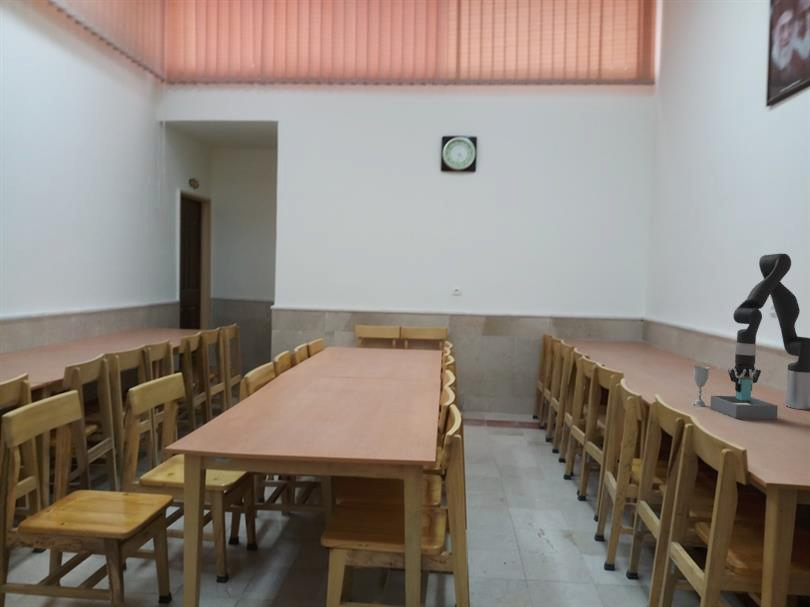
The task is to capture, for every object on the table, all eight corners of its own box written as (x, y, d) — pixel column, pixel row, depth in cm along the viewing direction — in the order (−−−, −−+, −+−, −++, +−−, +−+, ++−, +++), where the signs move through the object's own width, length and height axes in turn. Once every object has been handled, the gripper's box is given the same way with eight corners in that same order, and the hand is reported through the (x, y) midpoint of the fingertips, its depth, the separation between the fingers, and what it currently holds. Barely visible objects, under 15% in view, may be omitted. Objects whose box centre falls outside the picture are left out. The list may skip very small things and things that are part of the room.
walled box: (748, 409, 248) (749, 396, 248) (777, 419, 230) (777, 405, 230) (710, 408, 247) (710, 395, 247) (735, 418, 229) (736, 405, 229)
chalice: (687, 403, 256) (689, 366, 255) (697, 402, 259) (699, 365, 258) (700, 407, 249) (702, 368, 249) (711, 406, 252) (713, 368, 251)
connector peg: (744, 398, 240) (745, 375, 240) (750, 400, 236) (752, 377, 236) (735, 398, 240) (736, 375, 240) (741, 400, 236) (742, 377, 236)
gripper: (755, 352, 241) (753, 390, 242) (724, 351, 241) (722, 390, 242) (767, 354, 234) (764, 394, 235) (735, 354, 233) (733, 393, 234)
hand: (743, 391), depth 238 cm, fingers closed on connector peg, 4 cm apart
